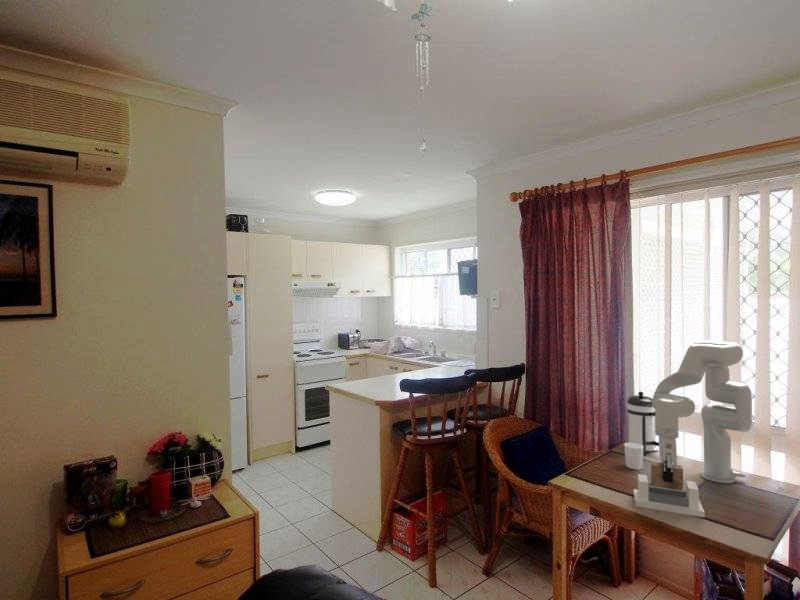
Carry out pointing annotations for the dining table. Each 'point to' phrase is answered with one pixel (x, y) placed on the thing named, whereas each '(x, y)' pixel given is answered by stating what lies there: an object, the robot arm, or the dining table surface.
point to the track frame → (669, 498)
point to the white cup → (634, 455)
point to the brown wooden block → (658, 476)
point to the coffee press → (641, 422)
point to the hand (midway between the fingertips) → (667, 478)
